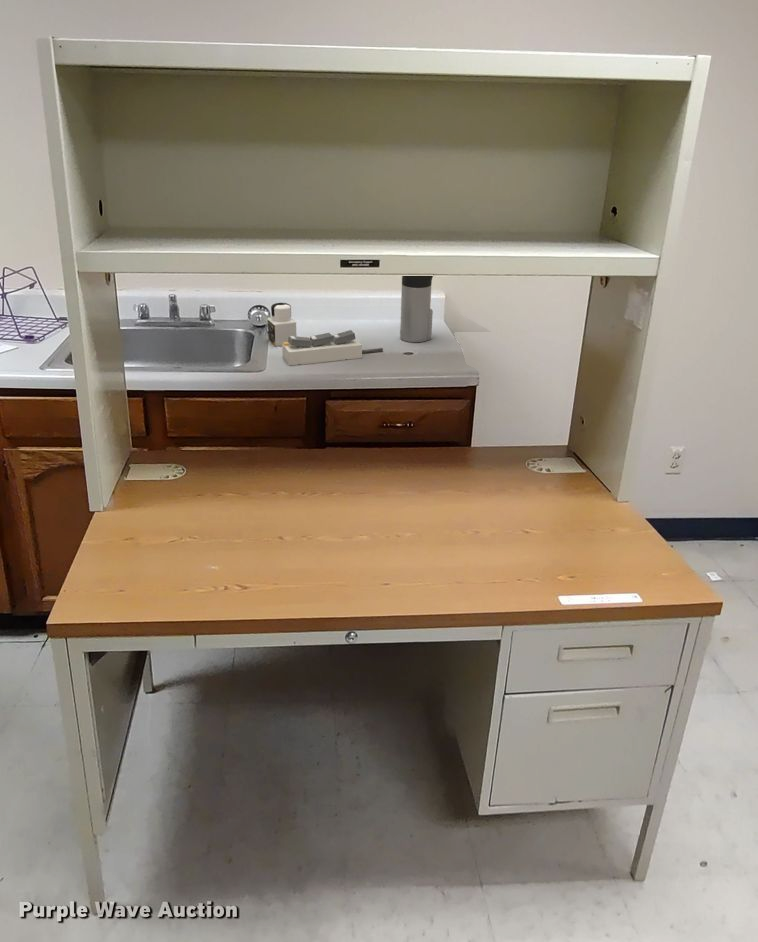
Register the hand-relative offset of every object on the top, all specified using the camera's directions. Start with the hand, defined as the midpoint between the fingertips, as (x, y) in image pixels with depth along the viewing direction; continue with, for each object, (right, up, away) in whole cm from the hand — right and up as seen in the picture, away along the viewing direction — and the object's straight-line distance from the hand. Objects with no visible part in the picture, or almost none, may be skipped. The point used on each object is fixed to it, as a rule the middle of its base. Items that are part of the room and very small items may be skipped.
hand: (330, 263), depth 221 cm
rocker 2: (+4, -22, +3) cm, 23 cm away
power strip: (+1, -26, +4) cm, 27 cm away
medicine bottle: (-16, -20, +16) cm, 30 cm away
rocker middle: (-3, -23, +1) cm, 24 cm away
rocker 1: (-9, -24, -1) cm, 26 cm away
